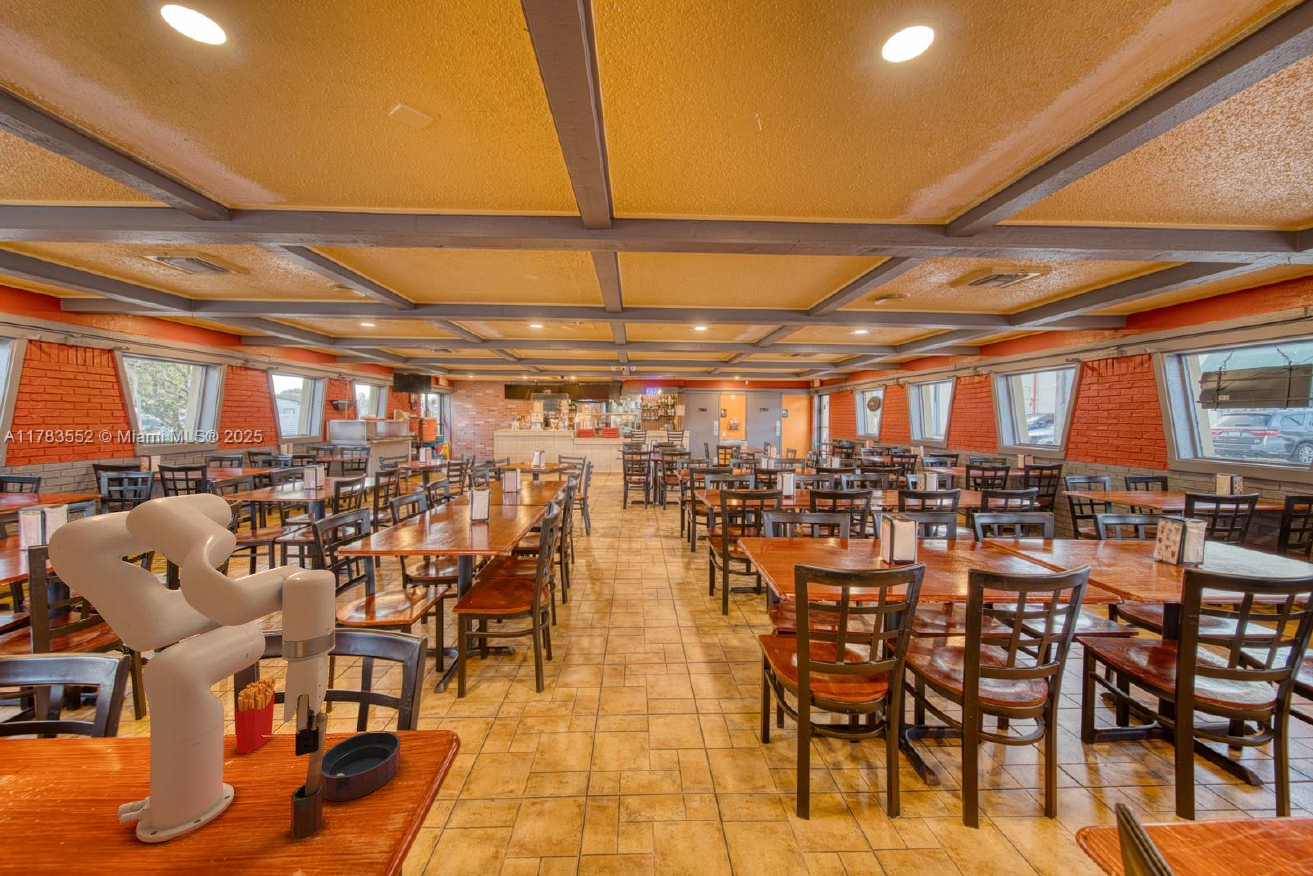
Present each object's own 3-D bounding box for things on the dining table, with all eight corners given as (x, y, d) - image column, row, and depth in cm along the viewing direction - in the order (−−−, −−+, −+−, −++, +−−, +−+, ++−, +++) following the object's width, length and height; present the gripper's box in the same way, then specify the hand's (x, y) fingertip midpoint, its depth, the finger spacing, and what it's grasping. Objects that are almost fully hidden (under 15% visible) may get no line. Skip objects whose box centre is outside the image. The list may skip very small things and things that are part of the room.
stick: (301, 812, 81) (314, 717, 82) (303, 804, 82) (315, 711, 83) (316, 808, 82) (328, 715, 83) (316, 801, 84) (329, 709, 84)
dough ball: (344, 769, 94) (338, 778, 93) (334, 772, 92) (328, 782, 92) (348, 777, 93) (342, 786, 92) (339, 780, 91) (333, 790, 91)
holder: (288, 845, 79) (288, 803, 79) (294, 826, 83) (294, 786, 83) (319, 835, 81) (320, 794, 81) (324, 817, 85) (324, 778, 85)
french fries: (248, 756, 101) (249, 696, 101) (228, 756, 101) (229, 696, 101) (280, 730, 110) (281, 674, 110) (262, 730, 110) (262, 674, 110)
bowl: (310, 814, 85) (310, 787, 86) (323, 766, 98) (324, 742, 98) (399, 788, 92) (399, 763, 92) (401, 746, 105) (401, 724, 105)
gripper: (293, 630, 88) (292, 729, 87) (269, 667, 73) (269, 785, 73) (341, 623, 91) (340, 718, 91) (327, 657, 77) (327, 769, 77)
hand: (308, 747), depth 82 cm, fingers closed on stick, 2 cm apart
